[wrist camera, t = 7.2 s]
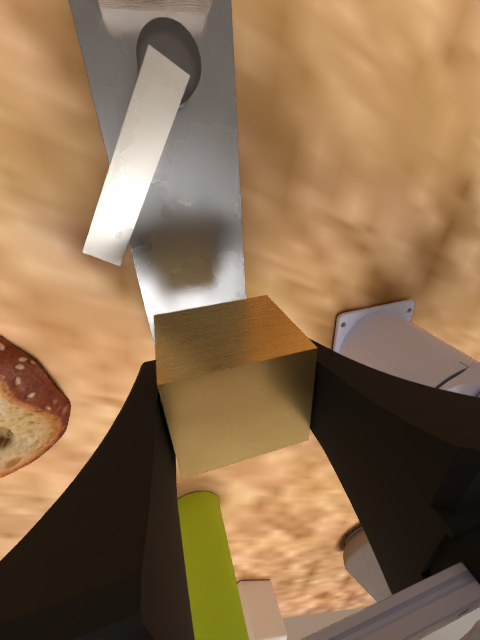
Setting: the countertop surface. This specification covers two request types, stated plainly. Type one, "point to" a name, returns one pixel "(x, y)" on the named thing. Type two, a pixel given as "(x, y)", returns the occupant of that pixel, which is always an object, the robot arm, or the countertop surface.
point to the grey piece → (176, 152)
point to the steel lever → (144, 132)
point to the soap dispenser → (210, 570)
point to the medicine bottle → (261, 610)
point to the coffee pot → (364, 565)
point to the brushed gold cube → (233, 382)
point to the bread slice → (27, 410)
